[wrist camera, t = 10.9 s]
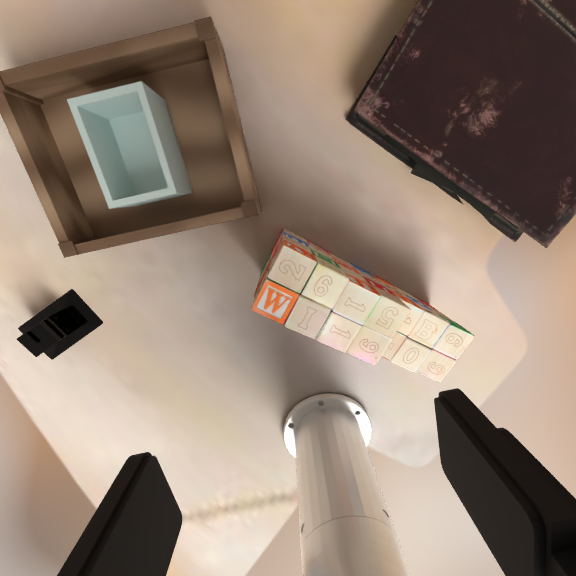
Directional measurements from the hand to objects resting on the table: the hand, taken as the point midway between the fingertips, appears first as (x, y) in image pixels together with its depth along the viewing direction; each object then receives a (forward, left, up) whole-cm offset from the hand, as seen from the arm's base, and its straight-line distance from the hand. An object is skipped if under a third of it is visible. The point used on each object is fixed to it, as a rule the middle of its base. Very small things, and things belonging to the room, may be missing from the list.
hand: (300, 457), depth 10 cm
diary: (+12, -24, -28) cm, 39 cm away
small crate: (+15, +11, -27) cm, 33 cm away
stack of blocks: (-5, -7, -28) cm, 29 cm away
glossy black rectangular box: (-2, +30, -28) cm, 41 cm away
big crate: (+15, +11, -28) cm, 33 cm away
